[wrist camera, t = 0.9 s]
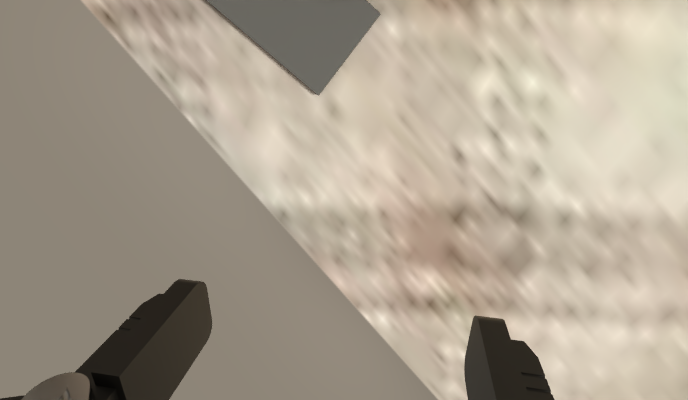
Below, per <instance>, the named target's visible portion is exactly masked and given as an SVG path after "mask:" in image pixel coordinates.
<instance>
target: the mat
mask: <svg viewBox="0 0 688 400" xmlns="http://www.w3.org/2000/svg"><path fill="white" fill-rule="evenodd" d="M207 1H208V2H209V3H210V4H211V5H213V6H214V7H215V8H216V9H217V10H218V11H220V12H221V13H222V14H223V15H224V16H225V17H227V18H228V19H229V20H230V21H231V22H232V23H234V24H235V25H236V26H237V27H238V28H239V29H241V30H242V31H243V32H244V33H245V34H247V35H248V36H249V37H250V38H251V39H252V40H254V41H255V42H256V43H257V44H258V45H259V46H261V47H262V48H263V49H264V50H265V51H266V52H268V53H269V54H270V55H271V56H272V57H274V58H275V59H276V60H277V61H278V62H279V63H281V64H282V65H283V66H284V67H285V68H286V69H288V70H289V71H290V72H291V73H292V74H293V75H295V76H296V77H297V78H298V79H299V80H301V81H302V82H303V83H304V84H305V85H306V86H308V87H309V88H310V89H311V90H312V91H313V92H315V93H316V94H317V95H320V93H321V92H322V91H323V89H324V88H325V87H326V85H327V84H328V83H329V81H330V80H331V79H332V77H333V76H334V75H335V74H336V72H337V71H338V70H339V68H340V67H341V66H342V64H343V63H344V62H345V60H346V59H347V58H348V56H349V55H350V54H351V52H352V51H353V50H354V49H355V47H356V46H357V45H358V43H359V42H360V41H361V39H362V38H363V37H364V35H365V34H366V33H367V31H368V30H369V29H370V28H371V26H372V25H373V24H374V22H375V21H376V20H377V18H378V17H379V16H380V13H379V12H378V11H377V10H376V9H375V8H374V7H373V6H372V5H371V4H370V3H368V2H367V1H366V0H207Z"/></svg>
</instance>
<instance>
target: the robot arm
mask: <svg viewBox="0 0 688 400" xmlns="http://www.w3.org/2000/svg"><path fill="white" fill-rule="evenodd" d="M211 329H212V317H211V311H210V305H209V298H208V292H207V287H206V284H205V283H204V282H200V281H192V280H184V279H179V280H177V281H176V282H174V284H172V286H171V287H170V288H169V289H168V290H167V291H166V292H165V293H164V294H158V295H156V296H154V297H153V298H151V299H150V300H148V301H146V302H144V303H143V304H142V305H140V306H139V307H138V309H137V310H136V311H135V312H134V313H133V314H132V315H131V316H130V317H129V319H127V320H126V321H125V322H124V323H123V324H122V325H121V326H120V327H119V330H116V331H115V332H114V333H113V334H112V335H111V336H110V337H109V338H108V339H107V340H106V341H105V342H104V343H103V344H102V345H101V346H100V347H99V348H98V349H97V350H96V351H95V352H94V353H93V354H92V355H91V356H90V357H89V359H88V360H86V361H85V363H83V365H82V366H81V367H80V368H79V369H78V370H77V371H76V372H71V373H64V374H60V375H56V376H54V377H52V378H49V379H47V380H45V381H43V382H41V383H40V384H38V385H37V386H35V387H34V388H33V389H31V390H30V391H29V392H28V393H27V394H26V395H25V396H17V397H9V398H2V399H0V400H169V399H170V397H171V396H172V394H173V392H174V391H175V390H176V388H177V386H178V385H179V383H180V382H181V380H182V379H183V377H184V376H185V374H186V373H187V371H188V370H189V368H190V367H191V365H192V363H193V362H194V360H195V359H196V357H197V356H198V354H199V353H200V351H201V350H202V348H203V347H204V345H205V344H206V342H207V340H208V338H209V336H210V333H211ZM465 382H466V389H467V395H468V400H554V398H553V395H552V394H551V390H550V387H549V385H548V382H547V380H546V379H545V374H544V372H543V369H542V367H541V364H540V362H539V359H538V357H537V356H536V355H535V354H534V352H533V351H532V350H531V349H530V348H529V347H528V346H527V344H526V343H525V342H524V341H517V340H511V339H510V336H509V333H508V330H507V327H506V324H505V321H504V320H503V319H498V318H490V317H482V316H474V318H473V322H472V326H471V331H470V336H469V341H468V346H467V351H466V356H465Z"/></svg>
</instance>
